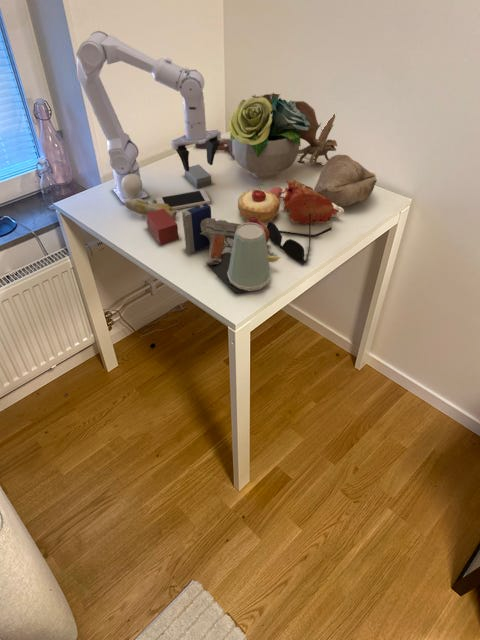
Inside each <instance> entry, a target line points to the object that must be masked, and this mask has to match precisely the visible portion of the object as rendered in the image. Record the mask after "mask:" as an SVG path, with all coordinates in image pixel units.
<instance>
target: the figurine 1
mask: <svg viewBox="0 0 480 640" xmlns="http://www.w3.org/2000/svg"><path fill="white" fill-rule="evenodd" d="M124 206H125V207H126V208H127V209H128V210H130V211H132V212H134V213H136V214H139V215H141V216H146V214H147V213H150V212H154V211H157V210H161V209H165V210H166V211H167V213H168V214H169V215H170V216H171V217H172V219H173V220H175V218H176V217H177V214H178V209H175V210H171V209H172V207H171V206H169V204H162V203H156V202H155V203H150V202H149V201H148V200H144V199H143V198H142V199H131V198H128V199H126V200H125V203H124Z"/></svg>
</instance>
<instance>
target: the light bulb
mask: <svg viewBox="0 0 480 640" xmlns="http://www.w3.org/2000/svg"><path fill="white" fill-rule="evenodd" d="M140 177H141V176H140ZM140 177H139V176H137V175H135V174H128V175H126V176H125V177H124V178H123V180H122V188H123V190H124V192H125V194H126V198H127V199H128V198H131V199H137V197H138V194H139V192H140V191H141V189H143V180H142V178H141V179H140Z"/></svg>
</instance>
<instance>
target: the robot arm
mask: <svg viewBox="0 0 480 640" xmlns="http://www.w3.org/2000/svg"><path fill="white" fill-rule="evenodd" d="M75 56H76V58H77V62H76V76H77V80H78V82H79V84H80V86H81V88H82V90H83V92H84V95H85V97H86V99H87V101H88V104H89V105H90V107H91V109H92V111H93V113H94V115H95V118H96V120H97V122H98V124H99V126H100V129H101V131H102V133H103V135H104V137H105V138H106V141H107V154H108V155H109V164H110V167H111V168H112V174H113V179H114V184H115V188H113V192H114V193H115V195H116V196H117V197H118V198H119V200H120V201H121V202H122V203H123V204H125V200H126V199H127V198H126V194H125V192H124V190H123V188H122V180H123V178H124V177H125V176H126V175H128V174H135V175H137V176H139V177H140V179H141V180H142V178H141V171H140V166H139V163H138V161H137V158H138V156H139V153H140V151H139V147H138V145H136V143H135V142H133V140H132V139H131V137H130V135H129V134H128V133H126V132H125V131H124V129H123V127H122V124H121V121H120V120H119V118H118V115H117V113H116V111H115V109H114V106H113V104H112V102H111V99H110V97H109V95H108V92H107V90H106V87H105V86H104V83H103V82H102V79H101V77H100V74H101V72H102V70H103V67H104V64H105V63H106V64H107V65H111V64H115V63H118V62H122V63H124V64H127V65H130V66H132V67H135V68H136V69H139V70H142V71H145V72H147V73H149V74H150V75H151V76H152V78H153V80H154V81H155V82H157V83H160V84H162V85H163V86H166V87H168V88H169V89H172V90H174V91H176V92H179V93H180V96H181V97H182V100H183V101H182V102H183V103H182V107H183V118H184V131H185V134H184V135H182V136H180V137H177V138H175V139H172V140H170V142H171V143H170V144H171V148H172V149H173V150H175V151H176V153H177V155H178V157H179V158H180V160H181V163H182V166H183V169H184V171H185V170H186V171H187V172H188V171H189V167H190V163H189V161H190V160H189V158H190V157H189V156H190V151H189V150H188V149H187V146H191V145H195V144H196V143H198V144H203V143H205V144H206V148H205V150H206V162H207V164H208V165H209V166H213V164H214V160H215V155H216V152H217V151H218V150H217V148H218V146H219V141H218V140H217V139H220V138H222V133H221V131H220V130H219V129H213V130H207V123H206V108H205V107H206V105H205V101H204V100H205V96H204V92H203V90H204V88H205V78H204V76H203V74H202V73H201V72H200V71H198V70H197V69H194V68H192V69H190V68H188V67H183V66H181V65H179V64H177V63H174V62H172V60H173V59H172V58H169V57H166V58H164V57H160V58H158V59H155V58H153V57H151V56H150V55H147V54H145V53H144V52H141V51H140V50H138V49H137V48H134V47H133V46H131V45H129V44H127V43H126V42H125V41H124V42H123V41H122V40H120V39H119V38H117V36H114V35H112V34H108V33H106V32H105V31H102V30H95V31H93V32H92V33H91V34H90V36H89V37H87V38H86V39H85V40H84V41H82V42H81V43H80V45H79V47H78V49H77V51H76V53H75ZM146 198H149V195H148V194H147V193H146V191H145V190H144V189H143V188H142V189H141V191H140V192H139V194H138V197H137V199H142V200H143V199H146Z"/></svg>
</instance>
